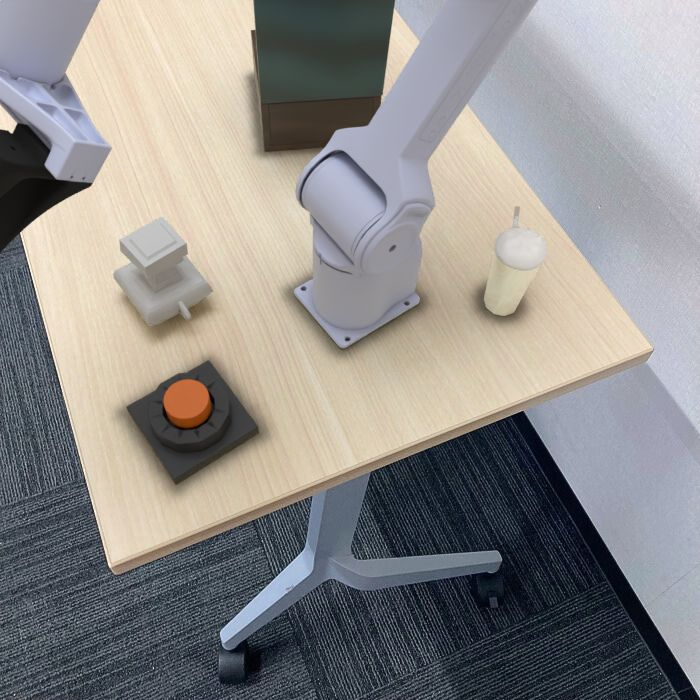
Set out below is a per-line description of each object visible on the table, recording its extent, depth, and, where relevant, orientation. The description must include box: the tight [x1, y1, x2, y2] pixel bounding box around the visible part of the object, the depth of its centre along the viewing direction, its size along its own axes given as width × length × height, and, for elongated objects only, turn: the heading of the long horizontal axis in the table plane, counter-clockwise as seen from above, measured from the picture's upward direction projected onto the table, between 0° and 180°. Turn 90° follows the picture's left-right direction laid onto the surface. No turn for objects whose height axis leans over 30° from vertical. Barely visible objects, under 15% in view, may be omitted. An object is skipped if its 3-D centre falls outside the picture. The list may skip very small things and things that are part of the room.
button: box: [163, 379, 212, 428], centre depth 58 cm, size 4×4×2 cm
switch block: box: [126, 360, 260, 485], centre depth 59 cm, size 8×8×3 cm
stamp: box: [112, 215, 214, 327], centre depth 64 cm, size 9×7×8 cm
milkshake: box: [483, 205, 548, 317], centre depth 65 cm, size 4×5×10 cm
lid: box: [252, 0, 396, 104], centre depth 67 cm, size 13×13×1 cm
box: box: [250, 29, 382, 152], centre depth 80 cm, size 13×13×6 cm
